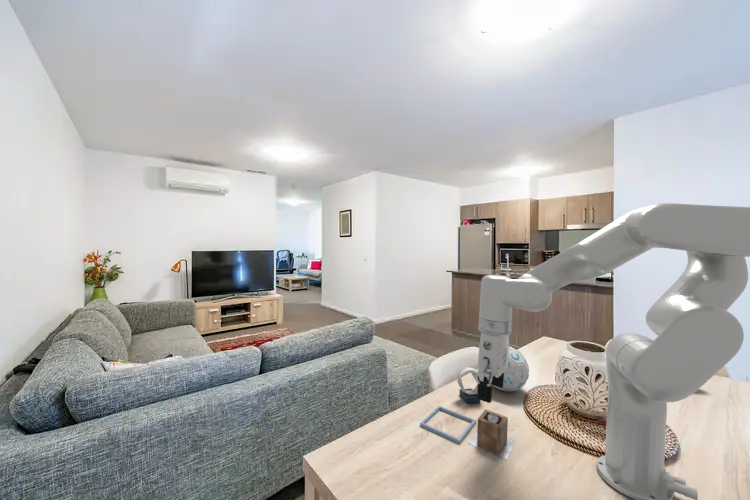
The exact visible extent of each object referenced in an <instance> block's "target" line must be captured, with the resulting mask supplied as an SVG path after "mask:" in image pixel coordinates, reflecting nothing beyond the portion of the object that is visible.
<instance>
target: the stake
mask: <svg viewBox="0 0 750 500" xmlns="http://www.w3.org/2000/svg"><path fill="white" fill-rule="evenodd" d="M488 421H490V422H493V423H495V424H498V416H496V415H495V414H488ZM516 441H517V440H516V439H514V438H511V437H509V436H507V442H506V444H505V446H504V447H503V449H502V451H501V453H500V452H497V451H495V450H493V449H491V448H488V447H486V446H484V445H481V444H479V443H477V430H476V432H475V433H474V434H473V435H472V437H471V439H469V440H468V442H467V444H468V445H471V446H473V447H476V448H477V449H479V450H481V451H484V452H486V453H488V454H491V455H493V456H495V457H498V458H500V459H502V460H505V461H507V460H508V457H509V456H510V453H511V451H512V449H513V448H514V445H515V444H516Z"/></svg>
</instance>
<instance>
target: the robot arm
mask: <svg viewBox="0 0 750 500" xmlns="http://www.w3.org/2000/svg"><path fill="white" fill-rule="evenodd" d="M655 248H656V249H657V248H658V249H669V250H670V249H671V250H679V251H685V252H686V254H687V264H686V267H685V269H684V271H683V272H682V274H681V275H680V276H679V277H678V278H677V279H676V281H674V283H673V284H672V285H670V287H669V288H668V289H666V291H665V292H664V293H663V294H662V295H661V296H660V297H659V298H658V299H657V300H656V301H654V303H653V304H652V305H651V306H650V307H649V309H648V310H647V311H646V314H645V322H646V325H647V326H648V327H649V330H651V331H652V332H653V333H654V334H655V335H657V337H656V338H654V339H651V338H649V337H648V336H646V335H645V336H644V335H643V334H642V335H641V334H638V333H633V332H627V333H625V332H624V333H620V334H618V335H616V336H614V337H613V338H612V339H611V340H610V341H609V343H608V344H607V346H606V351H605V365H606V373H607V405H606V408H607V409H606V429H605V431H606V432H605V453H604V455H601V456H599V457H598V458H597V459H596V464H595V465H596V471H597V472H598V474H599V476H600V477H601V478H602V479H603V480H604V482H606V483H607V484H608V485H610V487H612V488H613V489H615V490H616V491H618V492H619V493H620V494H623V495H624V496H627V497H629V498H631V499H633V500H673V499H675V493H677V494H679V495H683V496H684V497H687V498H689V499H692V500H698V498H699V497H698V496H699V495H698V490H697V488H694V487H691V486H689V485H687V481H686V479H683V478H681V477H678V476H675V475H672V474H670V473H669V472H667V470H666V465H665V457H666V456H665V454H666V453H665V452H666V435H667V433H666V432H667V419H668V403H675V402H679V401H682V400H685V399H686V398H688V397H690V396H692V395H694V393H696V392H697V391H698V390H699V389H700V388H702V386H704V385H705V384H706V383H707V382H708V381H710V379H711V378H713V377H714V376H715V375H716V374H718V373H719V371H720V370H722V368H724V367H725V366H726V365H727V364H728V363H729V362H730V361H731V360H732V359H733V358H735V356H736V355H737V354H738V353H739V351H740V350H741V348H742V345H743V343H744V336H745V335H744V329H743V327H742V326H743V325H742V324H741V322H740V321H739V319H738V318H737V317H736V316H735V315H734V314H732V313H731V312H729V311H728V310H729V309H730V308H731V306H733V304H734V303H735V302H736V301H737V300H738V298H739V297H741V295H742V294H743V292H744V291H745V289H746V287H747V285H748V282H749V270H748V264H747V260H746V258H747V257H750V206H730V205H729V206H728V205H709V204H708V205H707V204H706V205H705V204H689V203H674V202H673V203H671V202H670V203H669V202H667V203H665V202H663V203H657V204H650V205H648V206H647V205H646V206H643V207H639V208H635V209H633V210H631V211H629V212H627V213H625V214H624V215H622V216H620V217H618V218H617V219H616V220H614V221H612V222H610V223H608V224H607V225H605V226H604V227H602V228H601V229H599V230H597V231H595V232H594V233H592V234H590V235H589V236H586V238H584V239H583V240H580V241H579V242H577V243H576V244H574V245H572V246H570V247H568V248H566V249H565V250H563V251H561V252H560V253H558V254H556V255H555V256H553V257H550V258H549V259H547V260H546V261H544V262H541V263H539V264H538V265H537V266H535V267H533V268H532V269H529V271H527V272H525V273H524V274H522V275H521V276H519V277H518V278H516V279H513V278H511V277H510V276H505V275H499V274H487V275H484V276H483V277H482V278H481V282H480V294H479V295H480V296H479V313H478V327H477V328H478V329H477V330H478V331H479V332H480V337H479V345H478V357H477V371H478V383H477V384H478V389H477V398H478V399H479V400H480V401H482V402H485V403H487V404H491V403H492V397H493V395H492V394H493V387H495V386H497V387H500V388H502V387H503V382H504V371H505V370H506V369H507V367H508V364H509V346H510V335H511V334H512V322H513V321H512V319H513V308H515V309H519V310H522V311H527V312H530V313H531V312H533V313H538V312H542V311H544V310H546V309H548V307H550V305H551V304H552V301H553V293H554V292H556V291H558V290H559V289H561V288H563V287H566V286H568V285H571V284H573V283H577V282H580V281H585V280H586V281H587V280H591V279H596V278H600V277H602V276H605V275H607V274H609V273H610V272H612V271H614V270H616V269H618V268H619V267H621V266H622V265H624V264H627V263H628V262H630V261H632V260H634V259H635V258H637V257H638V256H640V255H642V254H645V253H646V252H648V251H650V250H652V249H655ZM486 370H488V371H491V372H488V371H486ZM485 375H488V376H489V379H487V377H485ZM493 385H494V386H493Z"/></svg>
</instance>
